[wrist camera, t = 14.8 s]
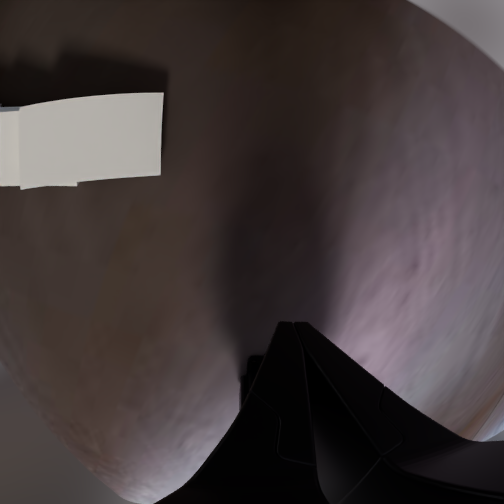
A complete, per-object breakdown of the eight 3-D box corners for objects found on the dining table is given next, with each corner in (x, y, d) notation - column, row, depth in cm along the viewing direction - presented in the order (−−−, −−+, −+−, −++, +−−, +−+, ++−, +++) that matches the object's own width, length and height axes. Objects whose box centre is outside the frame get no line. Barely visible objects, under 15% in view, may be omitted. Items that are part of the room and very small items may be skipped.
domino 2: (163, 92, 15) (19, 107, 11) (160, 175, 17) (20, 189, 13) (160, 96, 16) (28, 109, 13) (157, 171, 18) (29, 184, 15)
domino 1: (85, 110, 15) (-28, 115, 10) (76, 186, 16) (-32, 187, 12) (88, 111, 16) (-18, 114, 12) (80, 180, 18) (-23, 181, 14)
